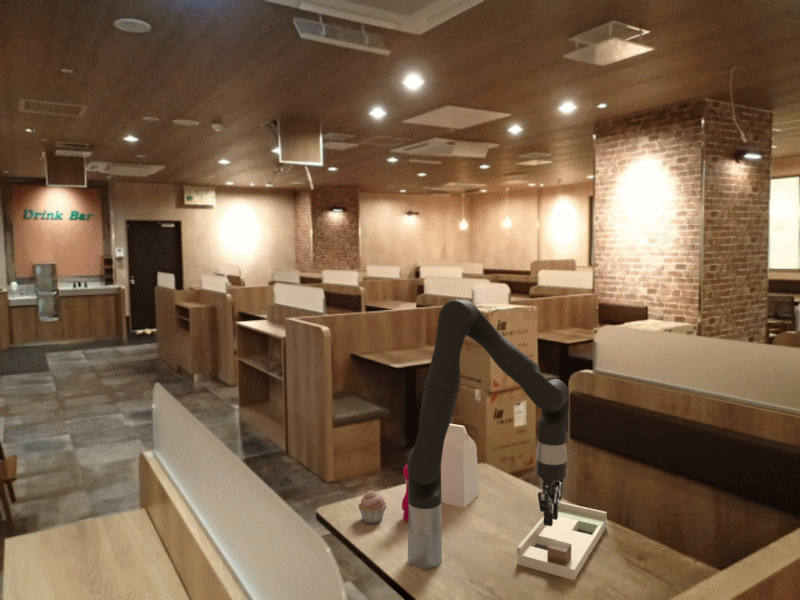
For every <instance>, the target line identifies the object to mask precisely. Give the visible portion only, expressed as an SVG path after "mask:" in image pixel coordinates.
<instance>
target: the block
mask: <svg viewBox="0 0 800 600" xmlns="http://www.w3.org/2000/svg"><path fill="white" fill-rule="evenodd" d="M570 559H571V544H569V543H566V542H562V541H558V540H554V539H553V541H552V542H551V543H550V545H549V546H548V555H547V561H548V562H552V563H555V564H559V565H562V566H566V565H567V564H568V562H569V560H570Z"/></svg>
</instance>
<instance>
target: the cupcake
mask: <svg viewBox="0 0 800 600" xmlns="http://www.w3.org/2000/svg"><path fill="white" fill-rule="evenodd" d="M387 507H388V506H387V502H385V499H384V498H383V497H382V495H381V494H380V493H378V492H375V490H374V489H370V490H368V491H367V492H366V493H365V494H364V495H363V497H362V498H361V500H360V503H358V509H359V512H360V515H361V518H362V520H363V522H364V523H366V524H370V525H374V524H379V523H380V522H381V521H382V520H383V518H384V512H385V510H386V508H387Z"/></svg>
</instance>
